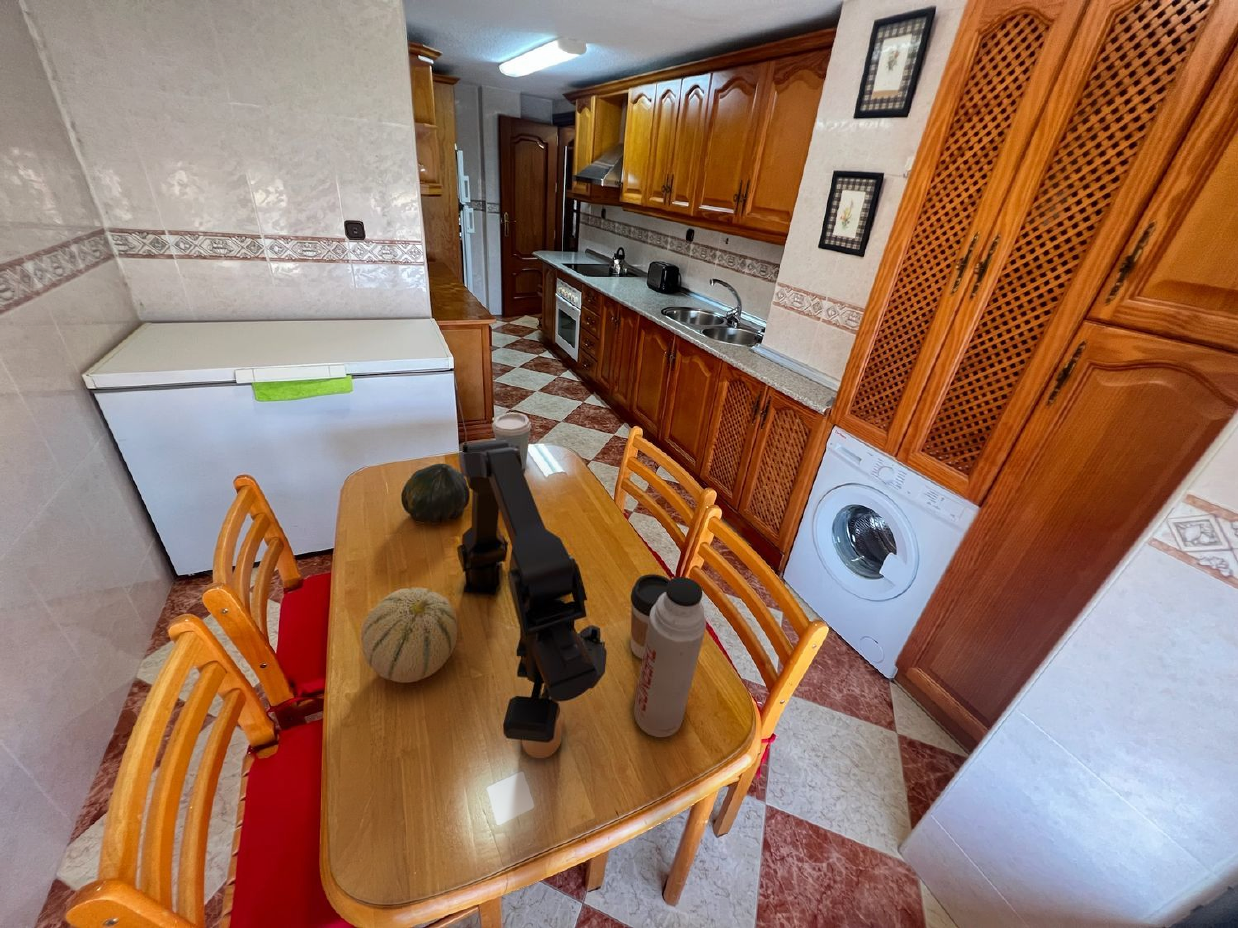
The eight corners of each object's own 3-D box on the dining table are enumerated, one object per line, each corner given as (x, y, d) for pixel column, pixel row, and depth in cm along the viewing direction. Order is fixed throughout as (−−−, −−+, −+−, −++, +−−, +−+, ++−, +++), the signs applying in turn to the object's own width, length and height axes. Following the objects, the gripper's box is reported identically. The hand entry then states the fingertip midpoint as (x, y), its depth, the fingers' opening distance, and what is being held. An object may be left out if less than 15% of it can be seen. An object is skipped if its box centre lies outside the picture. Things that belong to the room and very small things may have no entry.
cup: (517, 756, 73) (516, 728, 70) (526, 717, 78) (525, 690, 75) (557, 760, 73) (559, 732, 70) (564, 721, 78) (565, 694, 75)
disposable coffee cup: (519, 480, 136) (518, 431, 129) (486, 470, 139) (483, 422, 131) (538, 462, 145) (538, 416, 137) (506, 453, 148) (504, 408, 140)
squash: (388, 486, 119) (400, 463, 108) (448, 470, 129) (464, 447, 117) (410, 540, 117) (425, 523, 106) (468, 519, 127) (488, 501, 115)
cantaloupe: (370, 639, 88) (354, 577, 81) (456, 620, 93) (449, 560, 86) (368, 713, 77) (349, 649, 69) (466, 686, 82) (458, 624, 74)
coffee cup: (637, 672, 87) (647, 612, 79) (616, 636, 93) (623, 578, 86) (677, 656, 91) (690, 597, 83) (654, 623, 97) (664, 565, 89)
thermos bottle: (636, 738, 77) (659, 611, 63) (631, 691, 84) (651, 567, 70) (686, 736, 78) (720, 611, 64) (677, 690, 85) (706, 568, 70)
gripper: (598, 706, 56) (590, 779, 64) (610, 586, 72) (602, 657, 80) (499, 695, 56) (504, 770, 64) (533, 578, 72) (533, 650, 80)
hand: (541, 705), depth 72 cm, fingers open, 9 cm apart
